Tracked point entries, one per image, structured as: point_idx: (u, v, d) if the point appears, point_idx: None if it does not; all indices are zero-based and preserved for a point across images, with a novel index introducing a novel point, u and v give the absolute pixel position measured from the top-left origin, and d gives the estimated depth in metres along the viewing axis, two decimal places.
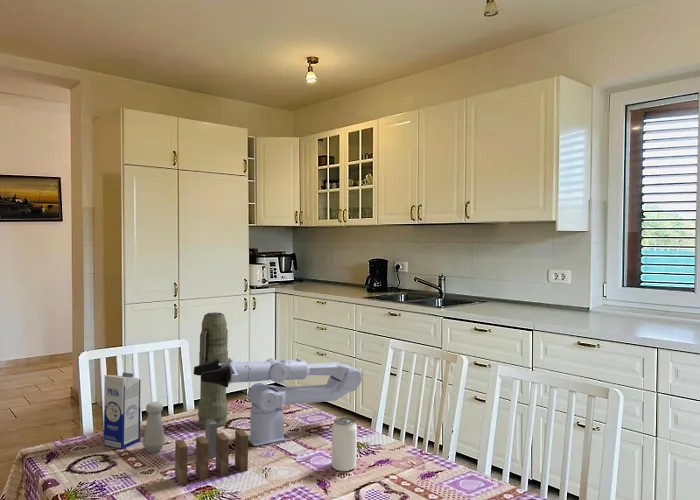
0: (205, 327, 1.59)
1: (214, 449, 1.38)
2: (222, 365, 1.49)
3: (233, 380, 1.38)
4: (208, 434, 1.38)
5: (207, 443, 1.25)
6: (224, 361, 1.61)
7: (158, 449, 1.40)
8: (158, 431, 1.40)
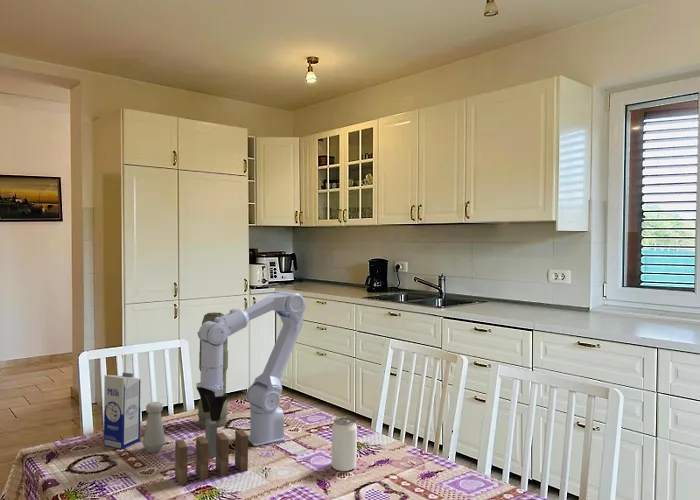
0: None
1: (214, 449, 1.38)
2: None
3: (221, 394, 1.33)
4: (208, 434, 1.38)
5: (207, 443, 1.25)
6: (224, 361, 1.61)
7: (158, 449, 1.40)
8: (158, 431, 1.40)
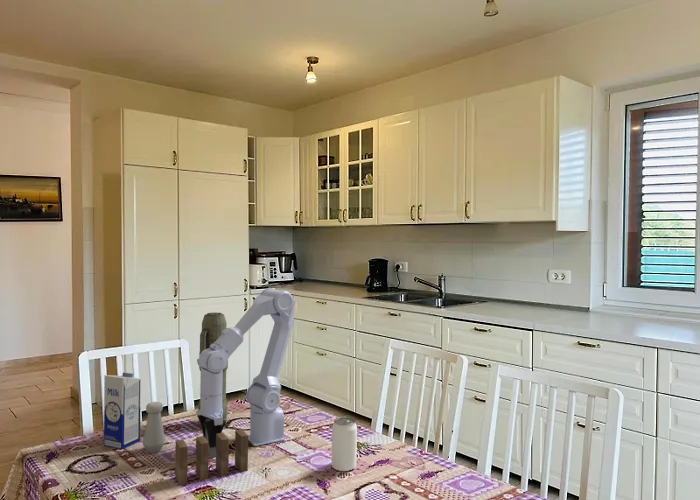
0: (205, 327, 1.59)
1: (214, 449, 1.38)
2: None
3: (220, 422, 1.33)
4: None
5: (207, 443, 1.25)
6: None
7: (158, 449, 1.40)
8: (158, 431, 1.40)
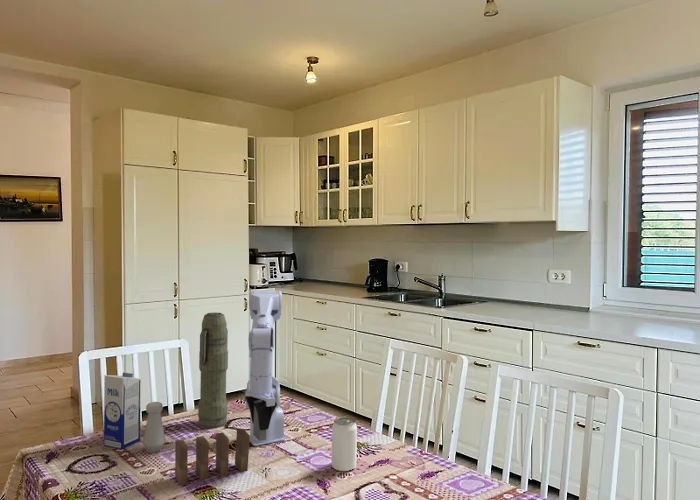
0: (205, 327, 1.59)
1: (264, 432, 1.32)
2: None
3: (273, 403, 1.28)
4: (257, 416, 1.33)
5: (207, 443, 1.25)
6: (224, 361, 1.61)
7: (158, 449, 1.40)
8: (158, 431, 1.40)
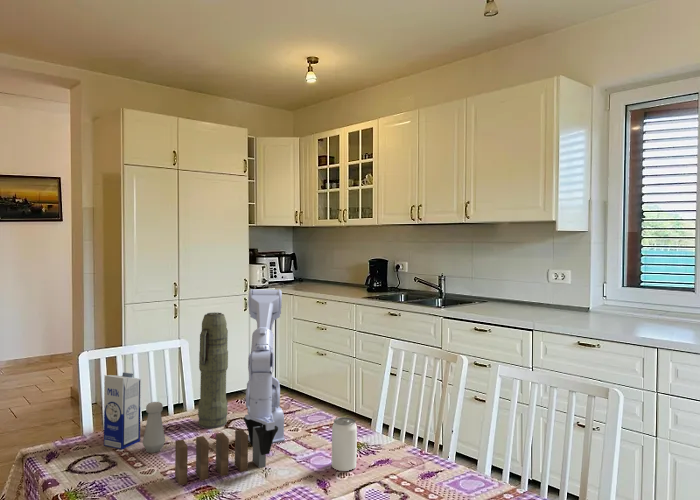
0: (205, 327, 1.59)
1: (263, 459, 1.32)
2: None
3: (272, 427, 1.28)
4: (257, 443, 1.33)
5: (207, 443, 1.25)
6: (224, 361, 1.61)
7: (158, 449, 1.40)
8: (158, 431, 1.40)
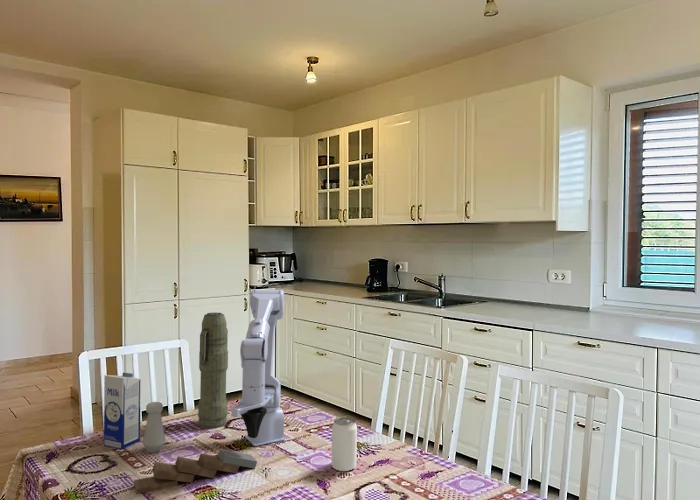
0: (205, 327, 1.59)
1: (249, 462, 1.30)
2: None
3: (235, 415, 1.26)
4: None
5: (157, 471, 1.19)
6: (224, 361, 1.61)
7: (158, 449, 1.40)
8: (158, 431, 1.40)
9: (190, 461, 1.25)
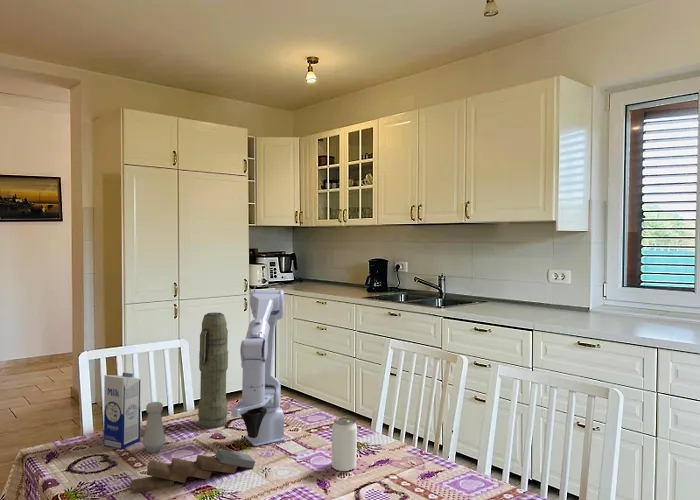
0: (205, 327, 1.59)
1: (247, 462, 1.30)
2: None
3: (235, 415, 1.26)
4: None
5: (150, 468, 1.20)
6: (224, 361, 1.61)
7: (158, 449, 1.40)
8: (158, 431, 1.40)
9: (185, 462, 1.25)
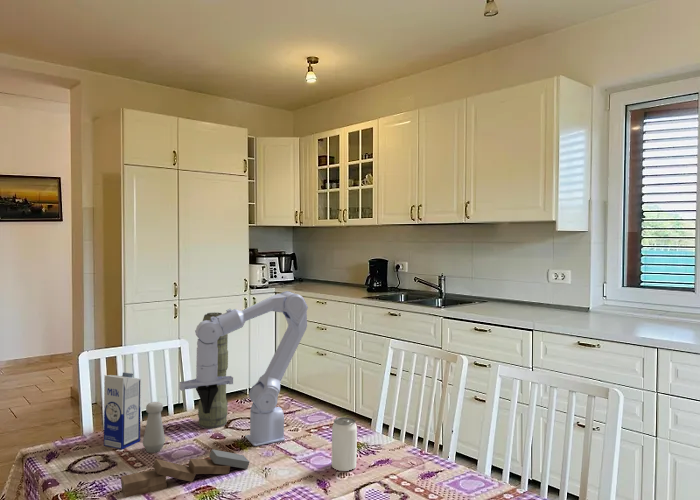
0: None
1: (241, 462, 1.30)
2: None
3: (180, 388, 1.39)
4: None
5: (125, 485, 1.15)
6: (224, 361, 1.61)
7: (158, 449, 1.40)
8: (158, 431, 1.40)
9: (169, 464, 1.23)
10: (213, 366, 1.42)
